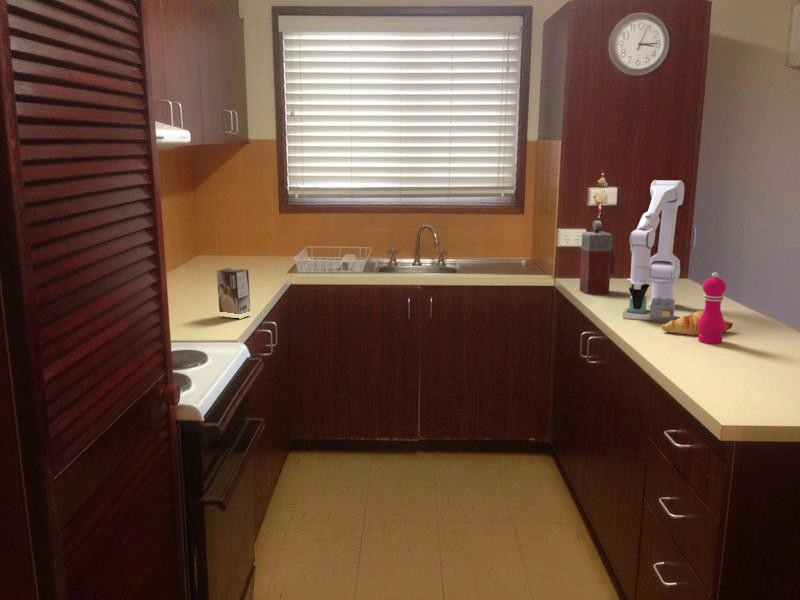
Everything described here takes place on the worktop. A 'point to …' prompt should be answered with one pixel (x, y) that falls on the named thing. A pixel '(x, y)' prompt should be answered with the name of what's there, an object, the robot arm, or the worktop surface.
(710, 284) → the pepper mill
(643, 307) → the teal block with knob
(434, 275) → the worktop surface
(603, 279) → the red canister
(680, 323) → the croissant
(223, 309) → the coffee box
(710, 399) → the worktop surface
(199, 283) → the worktop surface
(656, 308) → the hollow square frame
